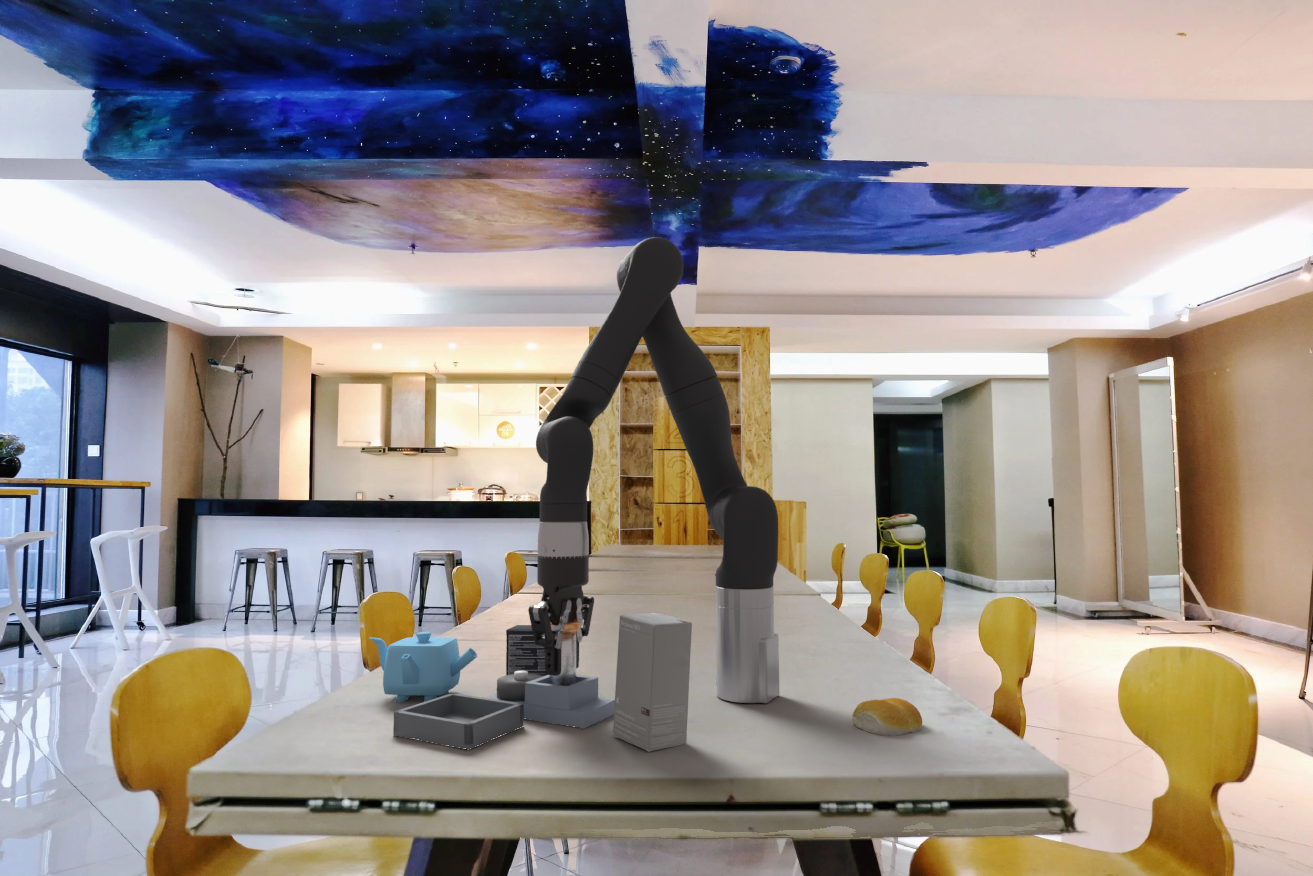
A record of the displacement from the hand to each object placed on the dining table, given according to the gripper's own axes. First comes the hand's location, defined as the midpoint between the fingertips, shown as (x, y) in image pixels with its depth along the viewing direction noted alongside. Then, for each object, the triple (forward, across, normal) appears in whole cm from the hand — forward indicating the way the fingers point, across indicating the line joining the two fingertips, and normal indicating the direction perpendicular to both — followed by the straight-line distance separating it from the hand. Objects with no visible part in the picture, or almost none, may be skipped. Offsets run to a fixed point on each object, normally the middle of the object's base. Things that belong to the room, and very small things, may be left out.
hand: (562, 671), depth 108 cm
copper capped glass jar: (+4, 0, 0) cm, 4 cm away
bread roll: (+7, +16, -43) cm, 46 cm away
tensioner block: (+6, 0, +3) cm, 7 cm away
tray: (+6, -12, +8) cm, 16 cm away
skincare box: (+7, -4, -17) cm, 19 cm away
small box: (+7, +10, +11) cm, 16 cm away
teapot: (+7, -2, +26) cm, 27 cm away
